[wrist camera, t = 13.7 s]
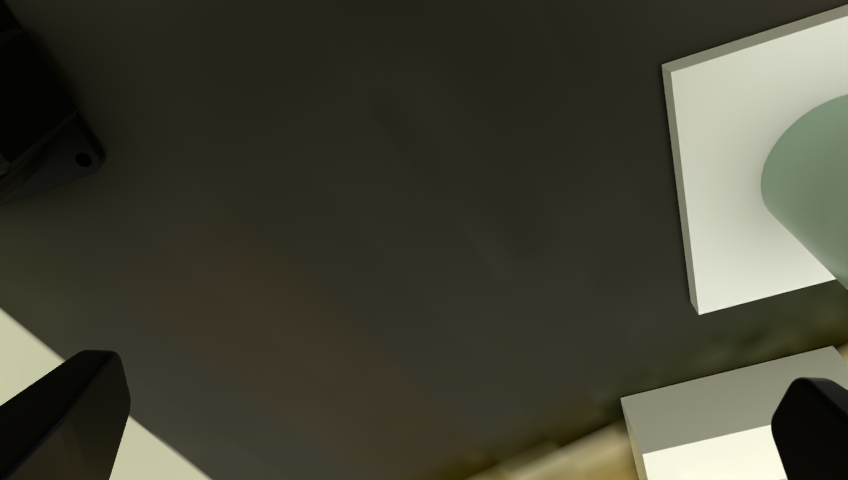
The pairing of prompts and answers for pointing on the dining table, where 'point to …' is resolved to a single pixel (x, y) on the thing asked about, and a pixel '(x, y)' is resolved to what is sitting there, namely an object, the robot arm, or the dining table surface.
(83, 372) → the robot arm
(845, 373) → the shallow square tray
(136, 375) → the dining table surface
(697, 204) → the cream panel
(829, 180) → the light green piece
